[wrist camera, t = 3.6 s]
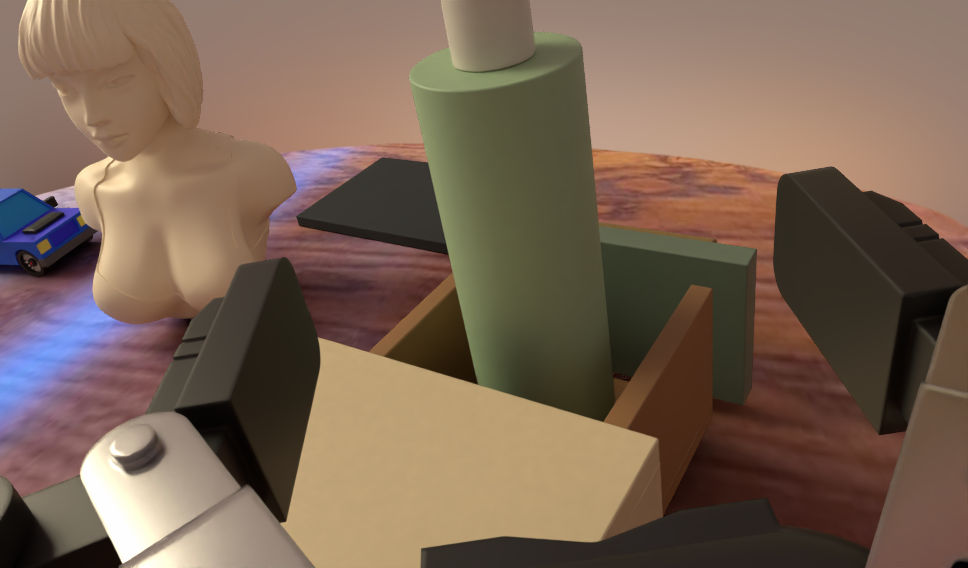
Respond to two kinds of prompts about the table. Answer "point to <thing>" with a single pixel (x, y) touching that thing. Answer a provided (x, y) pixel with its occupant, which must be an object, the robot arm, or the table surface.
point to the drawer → (636, 335)
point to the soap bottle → (519, 203)
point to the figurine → (152, 156)
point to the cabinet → (454, 467)
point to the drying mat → (383, 206)
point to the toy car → (38, 231)
